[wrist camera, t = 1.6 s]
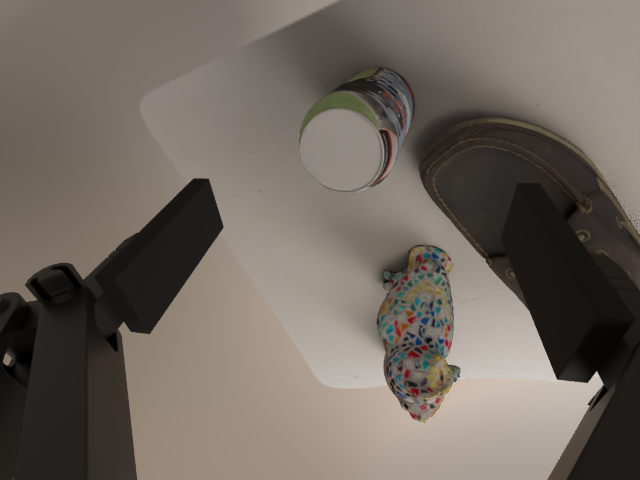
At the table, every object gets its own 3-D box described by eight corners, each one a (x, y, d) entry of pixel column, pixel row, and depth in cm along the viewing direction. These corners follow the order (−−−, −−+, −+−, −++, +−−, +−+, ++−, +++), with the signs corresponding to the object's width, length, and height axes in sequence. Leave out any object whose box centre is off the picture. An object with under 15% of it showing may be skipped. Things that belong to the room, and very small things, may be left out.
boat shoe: (486, 67, 25) (531, 113, 16) (711, 264, 31) (824, 368, 23) (390, 172, 31) (387, 243, 23) (592, 317, 38) (646, 413, 29)
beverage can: (399, 147, 30) (399, 225, 20) (319, 126, 30) (284, 194, 21) (426, 71, 26) (442, 126, 16) (334, 48, 26) (299, 89, 17)
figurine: (474, 285, 38) (507, 421, 26) (407, 312, 43) (411, 436, 31) (432, 236, 35) (450, 366, 23) (365, 271, 40) (352, 393, 28)
